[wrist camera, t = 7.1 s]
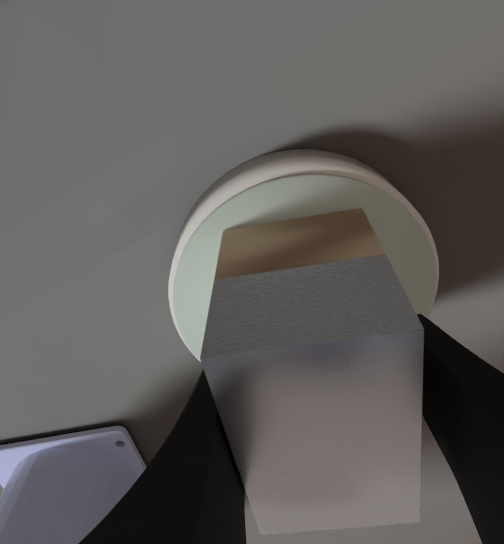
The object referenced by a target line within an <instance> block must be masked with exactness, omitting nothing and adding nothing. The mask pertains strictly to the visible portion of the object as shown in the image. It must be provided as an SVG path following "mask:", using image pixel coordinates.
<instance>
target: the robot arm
mask: <svg viewBox="0 0 504 544" xmlns="http://www.w3.org/2000/svg"><path fill="white" fill-rule="evenodd" d="M417 316H418V318H419V320H420V322H421V324H422V326H423V328H424V350H423V393H422V415H423V417H424V419H425V421H426V423H427V425H428V427H429V428H430V430H431V432H432V434H433V436H434V438H435V440H436V441H437V443H438V445H439V447H440V449H441V451H442V453H443V455H444V456H445V458H446V460H447V462H448V464H449V466H450V468H451V470H452V472H453V474H454V476H455V478H456V480H457V483H458V485H459V488H460V490H461V492H462V495H463V497H464V499H465V502H466V504H467V507H468V509H469V511H470V514H471V516H472V519H473V521H474V524H475V526H476V529H477V531H478V534H479V536H480V539H481V541H482V544H504V373H502V372H501V371H499V370H497V369H496V368H494V367H493V366H491V365H490V364H488V363H487V362H485V361H484V360H482V359H481V358H479V357H478V356H477V355H475V354H474V353H472V352H471V351H470V350H468V349H467V348H465V347H464V346H463V345H461V344H460V343H458V342H457V341H456V340H454V339H453V338H452V337H451V336H449V335H448V334H447V333H445V332H444V331H443V330H441V329H440V328H439V327H438V326H436V325H435V324H434V323H432V322H431V321H430V320H429V319H427V318H426V317H425V316H423V315H422V314H417ZM0 485H1V486H2V487H3V488H4V490H3V492H2V494H1V496H0V544H246V530H245V512H244V493H245V488H244V485H243V482H242V479H241V476H240V473H239V471H238V468H237V465H236V462H235V459H234V456H233V453H232V450H231V447H230V444H229V442H228V439H227V436H226V433H225V430H224V427H223V424H222V421H221V418H220V415H219V412H218V410H217V407H216V404H215V401H214V398H213V395H212V392H211V389H210V386H209V383H208V380H207V378H206V375H205V372H204V369H203V370H202V373H201V375H200V377H199V379H198V381H197V384H196V386H195V388H194V390H193V392H192V394H191V396H190V398H189V400H188V402H187V404H186V406H185V408H184V410H183V411H182V413H181V415H180V417H179V418H178V420H177V422H176V424H175V425H174V427H173V429H172V431H171V432H170V434H169V435H168V437H167V439H166V440H165V442H164V443H163V445H162V446H161V448H160V449H159V451H158V452H157V454H156V455H155V457H154V458H153V459H152V461H151V462H150V463H149V465H148V466H147V467H146V465H145V463H144V461H143V459H142V458H141V456H140V454H139V452H138V450H137V448H136V446H135V444H134V442H133V440H132V439H131V437H130V435H129V433H128V431H127V430H126V429H125V428H124V427H122V426H111V427H105V428H100V429H94V430H88V431H82V432H76V433H70V434H64V435H58V436H52V437H46V438H40V439H35V440H29V441H23V442H17V443H11V444H5V445H0Z"/></svg>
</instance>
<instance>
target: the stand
mask: <svg viewBox="0 0 504 544" xmlns="http://www.w3.org/2000/svg"><path fill="white" fill-rule="evenodd" d="M356 208H362V209H363V211H364V213H365V214H366V216H367V218H368V220H369V222H370V224H371V226H372V228H373V230H374V232H375V234H376V236H377V238H378V240H379V242H380V244H381V246H382V248H383V250H384V252H385V254H386V256H387V258H388V260H389V261H390V263H391V265H392V267H393V269H394V271H395V273H396V275H397V277H398V279H399V281H400V283H401V285H402V287H403V289H404V291H405V293H406V295H407V297H408V299H409V301H410V303H411V305H412V307H413V308H414V310H415V312H416V314H422V315H423V316H425V317H426V318H428V316H429V314H430V311H431V309H432V307H433V304H434V301H435V297H436V293H437V289H438V280H439V261H438V255H437V250H436V246H435V242H434V240H433V237H432V235H431V232H430V230H429V228H428V226H427V225H426V223H425V221H424V220H423V218H422V216H421V215H420V214H419V213H418V211H417V210H416V209H415V208H414V207H413V206H412V205H411V203H410V202H409V201H408V200H407V199H406V198H405V197H404V196H403V195H402V194H401V193H400V192H399V191H398V190H397V189H396V188H395V187H394V186H393V185H392V184H391V183H390V182H389V181H388V180H387V179H386V178H384V177H383V176H382V175H381V174H380V173H378V172H377V171H376V170H374V169H373V168H371V167H369V166H368V165H366V164H364V163H363V162H361V161H358V160H356V159H354V158H351V157H349V156H346V155H342V154H339V153H335V152H331V151H324V150H316V149H293V150H286V151H279V152H274V153H270V154H267V155H263V156H260V157H257V158H255V159H252V160H250V161H247V162H245V163H243V164H241V165H239V166H237V167H236V168H234V169H232V170H231V171H229V172H227V173H226V174H225V175H223V176H222V177H221V178H219V179H218V180H217V181H216V182H214V183H213V184H212V185H211V186H210V187H209V188H208V189H207V190H206V191H205V192H204V193H203V194H202V195H201V197H200V198H199V199H198V201H197V202H196V203H195V205H194V206H193V208H192V209H191V211H190V213H189V215H188V216H187V218H186V220H185V222H184V225H183V227H182V230H181V233H180V236H179V239H178V243H177V247H176V251H175V254H174V258H173V262H172V266H171V271H170V277H169V292H168V295H169V304H170V310H171V314H172V317H173V321H174V324H175V326H176V328H177V331H178V333H179V335H180V337H181V338H182V340H183V341H184V343H185V344H186V346H187V348H188V349H189V350H190V351H191V352H192V353H193V355H194V356H195V357H196V358H197V359H198V360H199V361H200V362H201V360H200V355H201V350H202V344H203V339H204V333H205V328H206V322H207V316H208V311H209V305H210V300H211V294H212V289H213V283H214V278H215V272H216V267H217V261H218V255H219V250H220V244H221V239H222V233H223V231H225V230H231V229H237V228H243V227H249V226H255V225H261V224H266V223H272V222H278V221H284V220H290V219H296V218H302V217H308V216H314V215H320V214H326V213H332V212H338V211H344V210H350V209H356Z"/></svg>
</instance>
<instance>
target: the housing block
mask: <svg viewBox="0 0 504 544" xmlns="http://www.w3.org/2000/svg"><path fill="white" fill-rule="evenodd" d="M423 350H424V328H423V326H422V324H421V322H420V320H419V318H418V316H417V314H416V312H415V310H414V308H413V307H412V305H411V303H410V301H409V299H408V297H407V295H406V293H405V291H404V289H403V287H402V285H401V283H400V281H399V279H398V277H397V275H396V273H395V271H394V269H393V267H392V265H391V263H390V261H389V260H388V258H387V256H386V254H385V252H384V250H383V248H382V246H381V244H380V242H379V240H378V238H377V236H376V234H375V232H374V230H373V228H372V226H371V224H370V222H369V220H368V218H367V216H366V214H365V213H364V211H363V209H362V208H356V209H350V210H344V211H338V212H332V213H326V214H320V215H314V216H308V217H302V218H296V219H290V220H284V221H278V222H272V223H266V224H261V225H255V226H249V227H243V228H237V229H231V230H225V231H223V233H222V239H221V244H220V250H219V255H218V261H217V267H216V272H215V278H214V283H213V289H212V294H211V300H210V305H209V311H208V316H207V322H206V328H205V333H204V339H203V344H202V350H201V355H200V360H201V363H202V366H203V369H204V372H205V375H206V378H207V380H208V383H209V386H210V389H211V392H212V395H213V398H214V401H215V404H216V407H217V410H218V412H219V415H220V418H221V421H222V424H223V427H224V430H225V433H226V436H227V439H228V442H229V444H230V447H231V450H232V453H233V456H234V459H235V462H236V465H237V468H238V471H239V473H240V476H241V479H242V482H243V485H244V488H245V491H246V494H247V497H248V500H249V503H250V505H251V508H252V511H253V514H254V517H255V520H256V523H257V526H258V529H259V532H260V535H268V534H280V533H293V532H305V531H318V530H331V529H343V528H356V527H368V526H381V525H393V524H406V523H418V522H420V481H421V437H422V393H423Z"/></svg>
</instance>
